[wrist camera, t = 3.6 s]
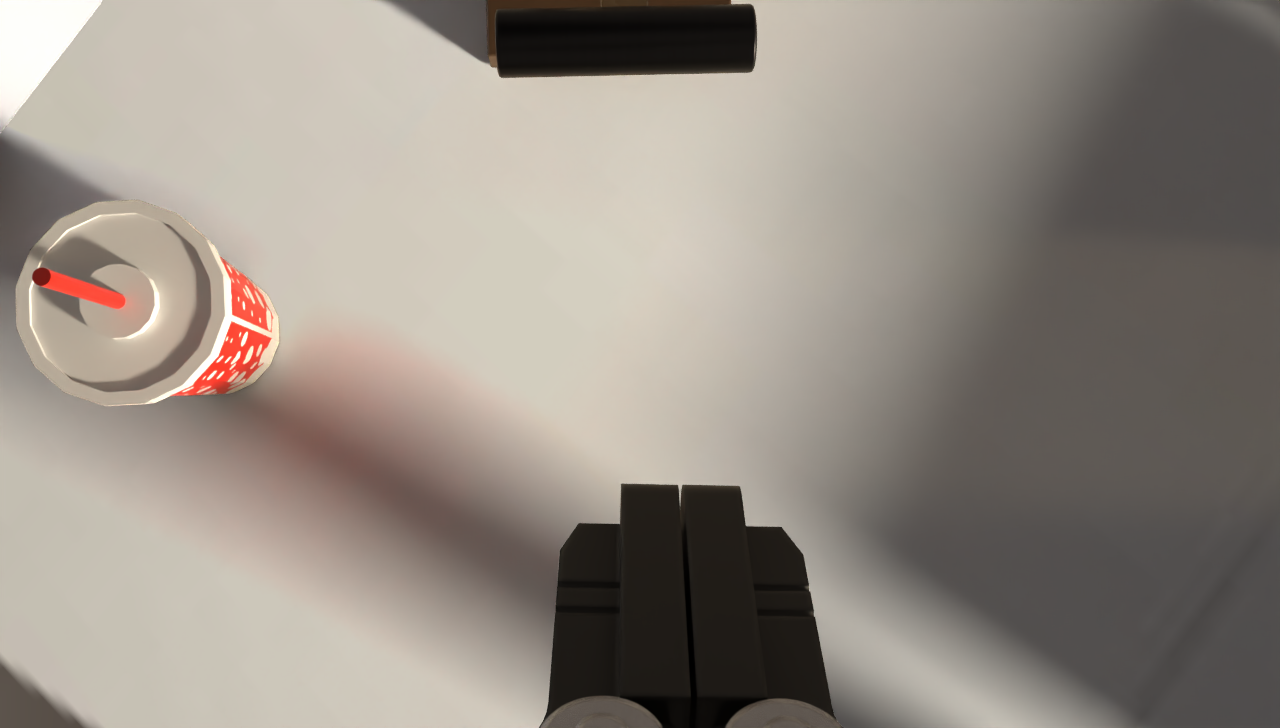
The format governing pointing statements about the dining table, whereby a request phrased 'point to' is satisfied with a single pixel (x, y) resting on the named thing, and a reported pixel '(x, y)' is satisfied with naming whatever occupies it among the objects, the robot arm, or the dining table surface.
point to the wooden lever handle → (625, 40)
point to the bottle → (34, 44)
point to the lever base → (494, 3)
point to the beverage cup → (140, 309)
